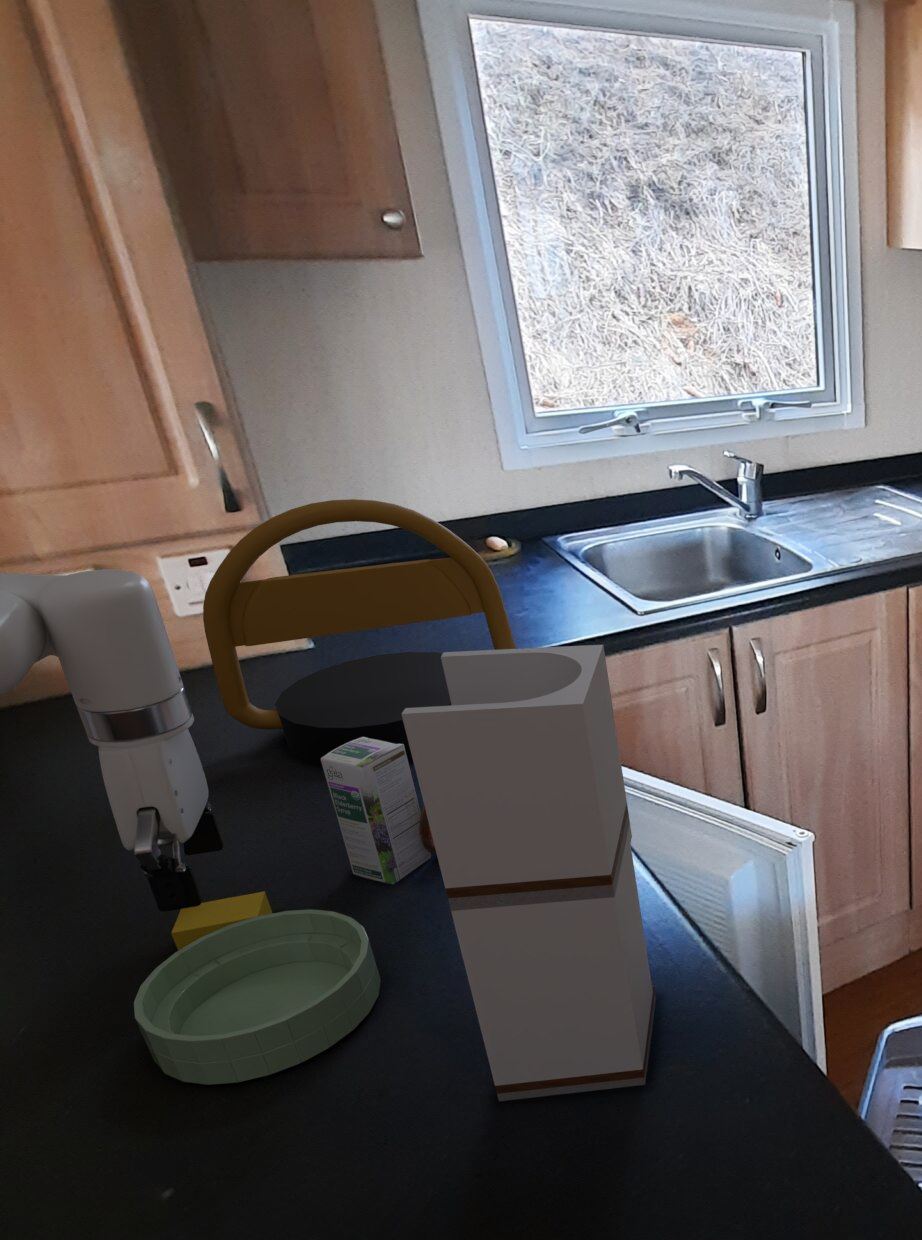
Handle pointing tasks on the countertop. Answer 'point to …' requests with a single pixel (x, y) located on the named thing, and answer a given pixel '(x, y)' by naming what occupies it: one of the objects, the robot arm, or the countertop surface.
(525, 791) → the striped white pedestal
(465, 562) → the chair
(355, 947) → the bowl
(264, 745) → the countertop surface
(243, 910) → the sponge
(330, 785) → the syrup box
